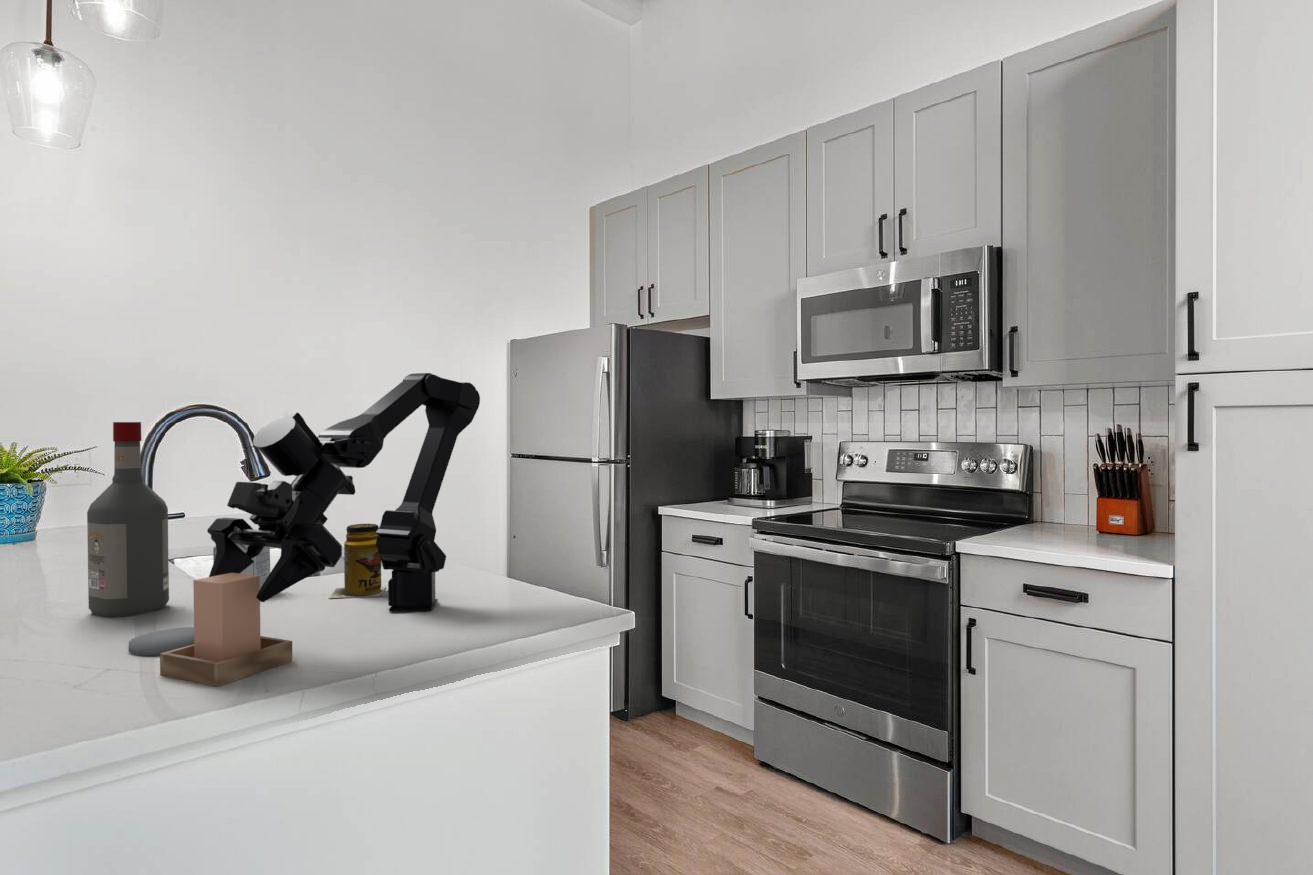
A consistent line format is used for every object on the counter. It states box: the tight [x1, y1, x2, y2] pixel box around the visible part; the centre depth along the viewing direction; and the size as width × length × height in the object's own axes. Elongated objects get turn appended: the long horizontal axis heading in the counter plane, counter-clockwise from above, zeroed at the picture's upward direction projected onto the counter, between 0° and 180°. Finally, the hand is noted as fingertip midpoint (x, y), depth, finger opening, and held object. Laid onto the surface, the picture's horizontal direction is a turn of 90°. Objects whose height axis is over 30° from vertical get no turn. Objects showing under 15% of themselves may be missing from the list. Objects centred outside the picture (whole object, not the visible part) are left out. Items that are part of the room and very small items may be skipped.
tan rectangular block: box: [192, 573, 261, 662], centre depth 92 cm, size 5×5×11 cm
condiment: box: [328, 523, 386, 599], centre depth 132 cm, size 7×8×12 cm
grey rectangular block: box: [212, 545, 271, 589], centre depth 132 cm, size 8×4×9 cm, turn 84°
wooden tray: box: [159, 635, 293, 687], centre depth 92 cm, size 10×10×2 cm
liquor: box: [86, 421, 170, 618], centre depth 120 cm, size 9×9×30 cm
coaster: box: [128, 626, 194, 656], centre depth 101 cm, size 10×10×1 cm
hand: (232, 596), depth 92 cm, fingers open, 9 cm apart
